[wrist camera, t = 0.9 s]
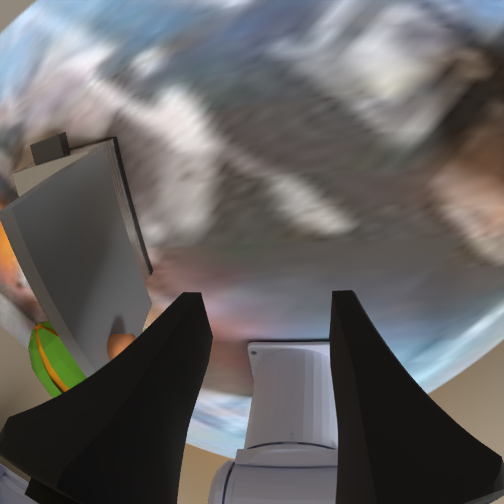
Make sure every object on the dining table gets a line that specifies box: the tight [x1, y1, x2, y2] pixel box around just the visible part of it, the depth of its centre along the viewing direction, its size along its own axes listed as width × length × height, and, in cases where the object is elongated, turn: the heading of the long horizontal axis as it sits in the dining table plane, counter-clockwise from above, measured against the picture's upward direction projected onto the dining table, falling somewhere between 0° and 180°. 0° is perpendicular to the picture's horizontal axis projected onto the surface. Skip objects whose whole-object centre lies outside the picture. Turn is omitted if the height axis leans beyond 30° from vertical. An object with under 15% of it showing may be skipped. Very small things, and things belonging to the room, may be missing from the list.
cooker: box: [12, 132, 153, 283], centre depth 19 cm, size 13×8×3 cm, turn 6°
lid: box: [0, 148, 152, 378], centre depth 14 cm, size 10×8×2 cm
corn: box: [28, 321, 87, 398], centre depth 28 cm, size 7×8×20 cm
